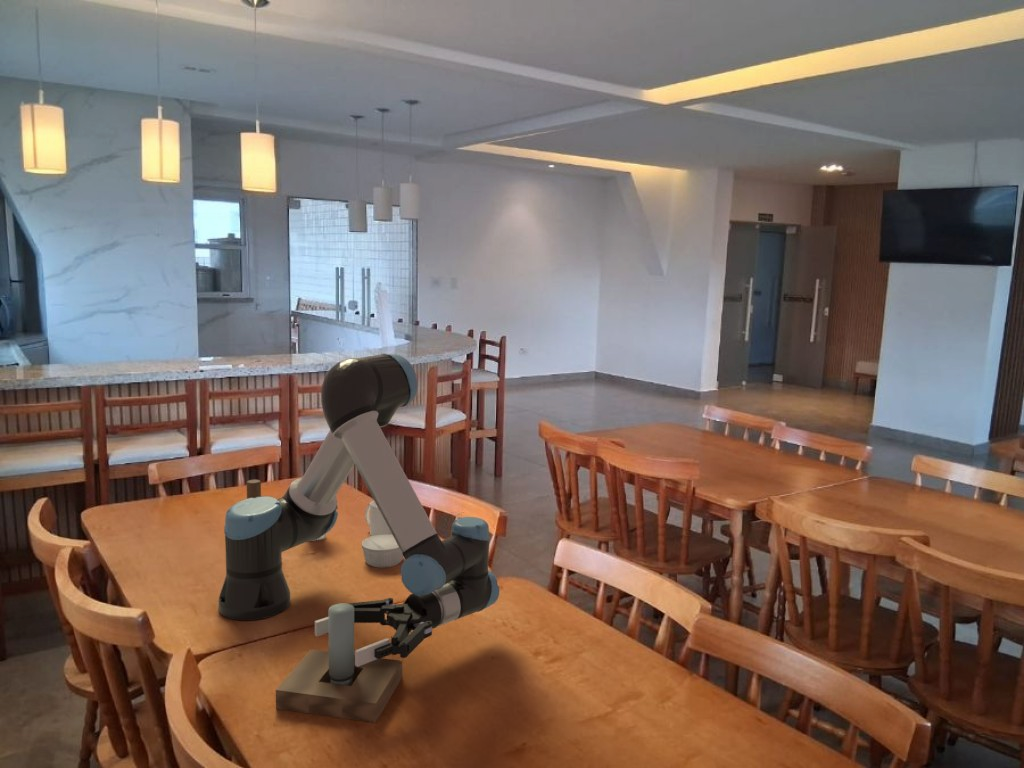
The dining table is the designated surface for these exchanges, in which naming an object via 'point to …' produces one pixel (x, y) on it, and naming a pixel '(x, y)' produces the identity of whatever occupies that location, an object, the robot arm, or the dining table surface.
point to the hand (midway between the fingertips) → (334, 643)
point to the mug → (376, 521)
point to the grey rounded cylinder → (341, 644)
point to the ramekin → (381, 551)
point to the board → (339, 688)
